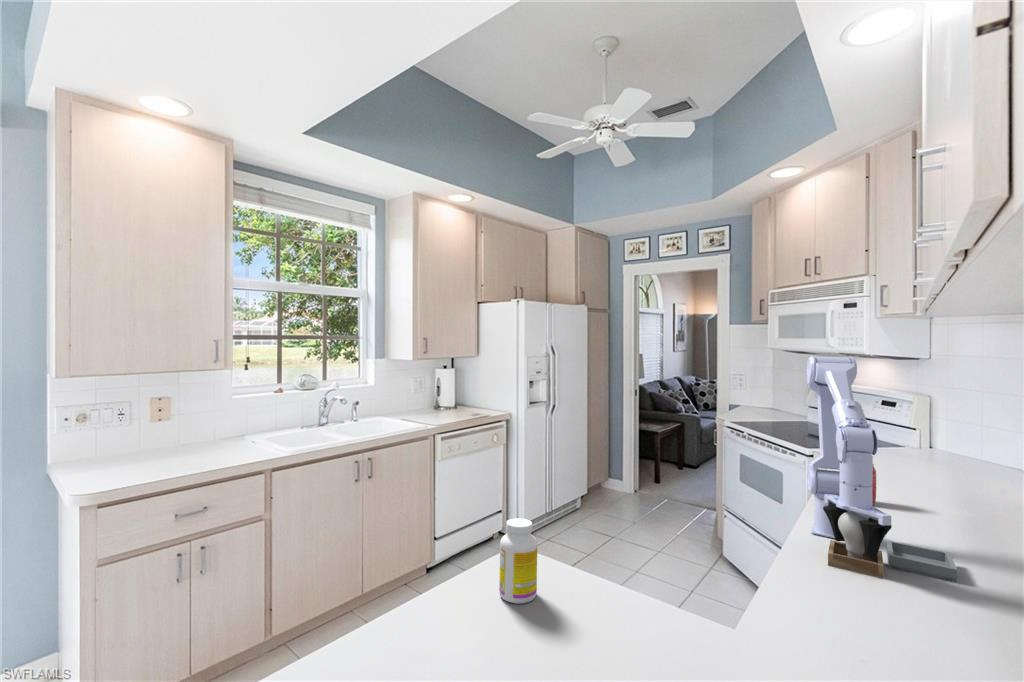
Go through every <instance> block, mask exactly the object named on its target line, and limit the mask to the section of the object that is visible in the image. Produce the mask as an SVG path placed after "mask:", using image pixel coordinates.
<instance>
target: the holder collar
mask: <svg viewBox="0 0 1024 682" xmlns="http://www.w3.org/2000/svg"><path fill="white" fill-rule="evenodd" d="M827 565H828V566H830V567H833V568H837V569H842V570H845V571H846V570H847V571H850V572H855V573H859V574H863V575H867V576H872V577H875V578H880V579H884V558H883V550H880V549H879V551H878V554H877V556H867V555H866V554H865V551H864V553H863V560H862V559H857V558H853V557H848V551H847V549H846V542H843V541H836V540H831V539H830V541H829V546H828V551H827Z"/></svg>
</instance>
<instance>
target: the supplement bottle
mask: <svg viewBox="0 0 1024 682" xmlns="http://www.w3.org/2000/svg"><path fill="white" fill-rule="evenodd" d="M505 531H506V534H504V535H503V536H502V537H501V539H500V544H499V547H500V548H499V580H498V581H499V583H498V584H499V585H498V586H499V587H498V588H499V589H498V590H499V596H500V597H501V598H502V599H503V600H504V601H506V602H508V603H510V604H511V603H512V604H518V605H519V604H526V603H530V602H531V601H533V600H534V599H535V598H536V596H537V592H538V588H537V587H538V586H537V585H538V576H537V575H538V540H537V538H536V537H535V536H534V535H533V534H532V531H533V522H532V521H531V520H529V519H527V518H523V517H522V518H521V517H516V518H510V519H508V520H506V524H505Z"/></svg>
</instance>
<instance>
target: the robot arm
mask: <svg viewBox="0 0 1024 682" xmlns="http://www.w3.org/2000/svg"><path fill="white" fill-rule="evenodd" d="M857 365H858V364H857V361H856V359H855V358H854V357H853V356H847V357H846V356H815V355H811V356H809V358H808V359H807V362H806V383H807V385H808V386H807V387H808V389H809V390H811V391H813V392H815V395H816V399H817V400H816V401H817V415H818V416H817V417H818V418H817V419H818V420H817V421H818V437H819V456H818V457H816V458H814V459H812V460H811V461H810V462H809V463H808V465H807V473H806V482H807V483H806V484H807V489H808V492H810V493H811V494H812V495H813V496H814V507H813V508H814V511H813V513H814V514H813V515H814V518H813V524H812V528H811V534H813V535H816V536H822V537H826V538H830V539H831V538H832V539H834V541H837V542H845V539H844V537H843V535H842V533H841V531H840V529H839V526H838V520H839V518H840V516H841V515H842V514H843V513H845V512H848V511H853V512H856V513H857V514H858V515H860V516H863V517H865V518H868V520H859V523H860V526H861V528H862V532H863V536H864V549H865V554H866V555H867V556H877V554H878V551H879V550H880V547H881V545H882V543H883V540H884V538H885V536H887V534H888V532H889V531H890V530H891V529H892V515H890V514H888V513H886V512H884V511H883V510H881V509H878V507H875V506H873V504H872V488H873V486H872V485H873V467H874V465H873V464H874V462H873V457H874V456H875V455H876V454H877V452H878V448H879V439H878V433H877V431H876V429H875V428H874V427H873V426H872V424H871V423H868V422H867V419H866V415H865V413H864V409H863V407H862V404H861V403H859V402H858V401H856V400H854V399H855V398H854V394H853V388H852V385H853V383H854V381H855V379H856V378H857V373H858V366H857ZM828 469H829V470H828Z"/></svg>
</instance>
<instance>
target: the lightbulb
mask: <svg viewBox="0 0 1024 682" xmlns="http://www.w3.org/2000/svg"><path fill="white" fill-rule="evenodd" d="M859 520H868V518H865V517H863V516H860V515H858V514H857V513H856V512H853V511H848V512H845V513H843V514H842V515H841V516H840V518H839V520H838V526H839V529H840V531H841V533H842V535H843V537H844V539H845V541H844V543H846V549H847V551H848V557H853V558H857V559H862V560H863V553H864V551H865V549H864V536H863V532H862V528H861V526H860V523H859Z"/></svg>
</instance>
